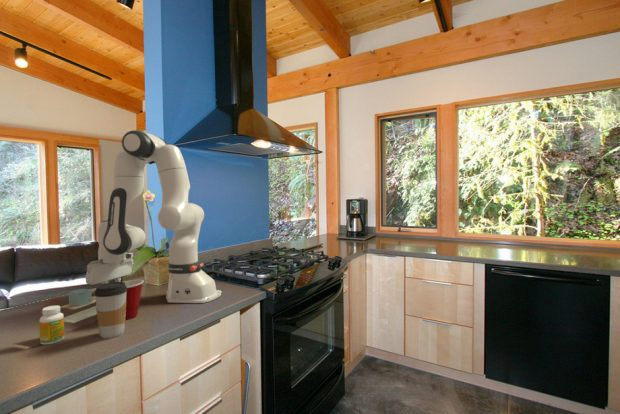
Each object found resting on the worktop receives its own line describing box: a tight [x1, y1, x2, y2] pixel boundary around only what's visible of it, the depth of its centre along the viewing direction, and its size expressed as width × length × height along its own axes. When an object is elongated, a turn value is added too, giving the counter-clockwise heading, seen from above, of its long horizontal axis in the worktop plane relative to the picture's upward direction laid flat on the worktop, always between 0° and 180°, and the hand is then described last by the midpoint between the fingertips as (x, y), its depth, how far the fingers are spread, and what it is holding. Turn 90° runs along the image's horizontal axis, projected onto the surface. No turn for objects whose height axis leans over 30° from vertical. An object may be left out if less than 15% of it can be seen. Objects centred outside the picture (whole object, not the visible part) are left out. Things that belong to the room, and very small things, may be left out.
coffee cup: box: [93, 281, 127, 339], centre depth 93 cm, size 8×8×15 cm
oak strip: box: [60, 295, 96, 310], centre depth 123 cm, size 8×20×5 cm, turn 164°
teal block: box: [68, 288, 92, 307], centre depth 118 cm, size 5×5×5 cm
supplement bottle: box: [38, 305, 65, 346], centre depth 89 cm, size 5×5×10 cm
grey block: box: [64, 305, 97, 324], centre depth 111 cm, size 8×20×5 cm, turn 164°
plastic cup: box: [123, 279, 145, 321], centre depth 106 cm, size 11×11×12 cm
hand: (111, 289), depth 131 cm, fingers closed on oak strip, 2 cm apart
